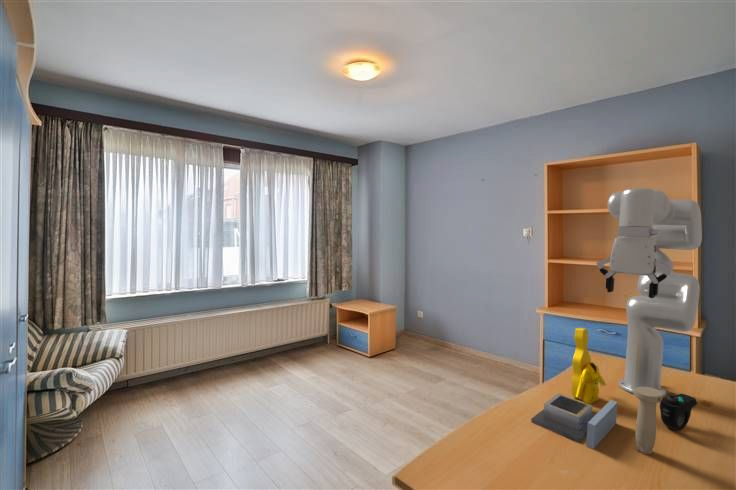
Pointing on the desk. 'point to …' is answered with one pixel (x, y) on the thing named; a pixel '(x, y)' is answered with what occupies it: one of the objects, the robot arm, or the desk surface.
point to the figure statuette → (584, 371)
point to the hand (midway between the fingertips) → (630, 294)
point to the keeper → (565, 417)
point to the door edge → (601, 424)
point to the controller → (676, 410)
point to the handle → (646, 418)
